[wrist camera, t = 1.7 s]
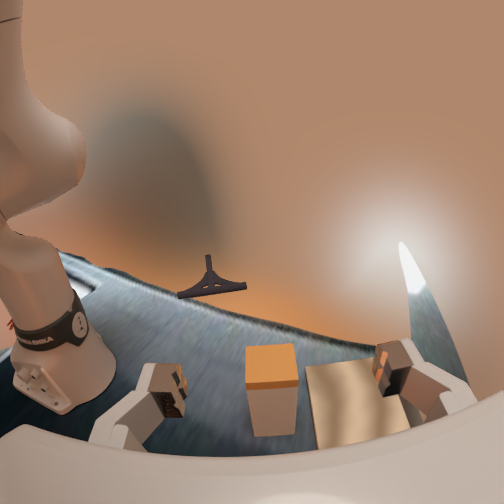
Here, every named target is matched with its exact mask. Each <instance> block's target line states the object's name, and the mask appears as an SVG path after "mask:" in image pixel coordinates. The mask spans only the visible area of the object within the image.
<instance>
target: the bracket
mask: <svg viewBox="0 0 504 504" xmlns="http://www.w3.org/2000/svg"><path fill="white" fill-rule="evenodd" d="M205 257H206V266H207V272H206V273H205V275H204V277H203V278H202V280H201V281H200V282H199V283H197V284H196V285H194V286H193V287H192V288H189V289H187V290H185V291H181V292H177V295H178V299H182V298H189V297H190V298H194V297H201V296H208V295H215V294H221V293H228V292H234V291H241V290H247V285H246V282H242V283H237V282H232V281H228V280H225V279H222V278H220V277H219V276H218V275H217V274H216V273H215V272H214V271H213V270H212V262H211V256H210V255H205ZM215 284H219V285H221V286H215ZM205 286H208V287H207V288H203V287H205Z"/></svg>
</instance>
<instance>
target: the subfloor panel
mask: <svg viewBox="0 0 504 504" xmlns="http://www.w3.org/2000/svg"><path fill="white" fill-rule="evenodd" d="M373 358H374V357H372V358H366V359H360V360H353V361H347V362H339V363H332V364H324V365H315V366H306V367H305V375H306V381H307V387H308V393H309V399H310V406H311V412H312V418H313V425H314V431H315V438H316V445H317V450H321V449H327V448H333V447H338V446H343V445H348V444H353V443H358V442H362V441H367V440H371V439H375V438H379V437H383V436H386V435H390V434H393V433H397V432H400V431H404V430H407V429H410V428H413V427H416V426H419V425H422V424H423V423H424V421H425V419H426V418H427V416H426V415H425V414H423V413H422V412H421V411H420V410H418V409H417V408H416V407H415V406H413V405H412V404H411V403H410V402H408V401H407V400H406V399H405V398H403V397H402V396H401V395H400V394H397V395H393V396H388V397H384V398H382V395H381V393H380V390H379V388H378V385H379V381H378V380H376V379H375V378H374V375H373V371H372V361H373Z"/></svg>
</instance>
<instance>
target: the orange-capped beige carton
mask: <svg viewBox="0 0 504 504" xmlns="http://www.w3.org/2000/svg"><path fill="white" fill-rule="evenodd" d="M298 380H299V379H298V372H297V366H296V359H295V352H294V346H293V343H290V344H278V345H264V346H246V376H245V384H246V390H247V396H248V402H249V408H250V414H251V420H252V426H253V431H254V437H263V436H279V435H291V434H295V424H296V411H297V397H298Z"/></svg>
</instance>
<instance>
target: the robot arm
mask: <svg viewBox="0 0 504 504" xmlns="http://www.w3.org/2000/svg"><path fill="white" fill-rule="evenodd" d="M22 3H23V0H0V298H1V300H2V301H3V303H4V305H5V307H6V309H7V310H8V312H9V314H10V316H11V317H12V319H11V321H10V322H9V323H8V324H7V326H8V325H9V324H11V322H12V324H11V326H10V330H11V329H12V328H13V327H14V329H15V333H16V336H17V339H16V342H15V344H14V346H13V349H12V351H11V357H10V359H11V363H12V365H13V367H14V368H15V370H16V371H15V374H14V379H13V385H14V386H15V388H16V389H17V390H19V391H20V392H22V393H23V394H25V395H27V396H28V397H30V398H31V399H33V400H35V401H36V402H38V403H40V404H42V405H43V406H45V407H47V408H49V409H51V410H52V411H54V412H56V413H58V414H60V415H64V414H66V413H68V412H69V411H71V410H72V409H73V408H74V407H75V406H77V405H79V404H82V403H85V402H87V401H90V400H92V399H93V398H95V397H97V396H98V395H99V394H101V393H102V392H103V391H104V390H105V389H106V388H107V386H108V385H109V384H110V382H111V381H112V379H113V377H114V374H115V370H116V360H115V357H114V355H113V353H112V352H111V351H110V350H109V349H108V348H107V347H106V345H105V344H104V343H103V339H102V338H101V336H100V335H99V334H98V333H96V331H95V330H94V328H93V327H92V325H91V323H90V322H89V320H88V318H87V317H86V314H85V311H84V308H83V306H82V304H81V301H80V298H79V296H78V295H77V293H76V291H75V290H74V289H72V287H71V285H70V282H69V280H68V277H67V275H66V272H65V270H64V267H63V264H62V261H61V259H60V256H59V253H58V251H57V250H56V248H55V247H54V246H53V245H52V244H51V243H50V242H48V241H46V240H44V239H41V238H37V237H31V236H22V235H19V234H17V233H15V232H14V231H13V230H12V229H10V227H9V226H8V224H7V222H6V221H7V220H8V219H10V218H12V217H15V216H17V215H19V214H22V213H24V212H26V211H29V210H31V209H34V208H36V207H39V206H41V205H43V204H46V203H49V202H51V201H52V200H54V199H56V198H58V197H59V196H61V195H62V194H64V193H66V192H67V191H69V190H70V189H72V188H74V187H76V186H77V185H78V183H79V182H80V180H81V178H82V175H83V172H84V169H85V165H86V146H85V142H84V139H83V137H82V134H81V133H80V131H79V130H78V128H77V127H76V126H75V125H74V124H73V123H72V122H71V121H69V120H67V119H65V118H63V117H61V116H58V115H56V114H54V113H52V112H51V111H49V110H48V109H47V108H45V107H44V106H43V105H42V104H41V103H40V102H39V101H38V100H37V99H36V97H35V96H34V94H33V93H32V91H31V89H30V87H29V85H28V83H27V80H26V77H25V73H24V67H23V60H22V48H21V22H22V19H20V18H22ZM375 352H376V356H375V357H374V358H373V361H372V371H373V375H374V378H375V379H376V380H378V381H379V385H378V388H379V390H380V393H381V395H382V398H384V397H388V396H393V395H397V394H400V395H401V396H402V397H403V398H405V399H406V400H407V401H408V402H410V403H411V404H412V405H413V406H415V407H416V408H417V409H418V410H420V411H421V412H422V413H423V414H425V415H426V416H427V418H426V419H425V421H424V423H423V424H422V425H419V426H416V427H413V428H410V429H407V430H404V431H400V432H397V433H393V434H390V435H386V436H383V437H379V438H375V439H371V440H367V441H362V442H358V443H353V444H348V445H343V446H338V447H333V448H327V449H321V450H314V451H307V452H299V453H290V454H280V455H268V456H252V457H194V456H177V455H165V454H155V453H148V452H147V451H146V450H145V449H144V447H143V446H142V443H143V442H144V441H145V440H146V439H147V438H148V437H149V435H150V434H151V433H152V432H153V431H154V430H155V429H156V428H157V426H158V425H159V424H160V423H161V422H162V421H163V419H164V417H173V418H183V416H184V411H185V403H184V401H183V400H184V399H185V398H186V397H187V393H188V385H187V380H186V377H185V376H184V375H182V370H183V369H182V367H181V364H172V363H145V365H144V366H143V369H142V372H141V375H140V378H139V381H138V384H137V387H136V390H135V391H131V392H130V393H129V394H128V395H126V396H125V397H124V398H123V399H121V400H120V401H119V402H118V403H117V404H115V405H114V406H113V407H112V408H110V409H109V410H108V411H107V412H105V413H104V414H103V415H102V416H100V417H99V418H98V419H97V420H96V422H95V424H94V427H93V430H92V432H91V435H90V438H89V441H88V442H85V441H81V440H77V439H73V438H70V437H66V436H62V435H59V434H55V433H52V432H49V431H46V430H42V429H39V428H37V427H34V426H31V425H27V424H24V425H21V426H19V427H17V428H15V429H14V430H12V431H11V432H9V433H7V434H6V435H4V436H3V437H1V438H0V504H504V389H503V390H501V391H500V392H497V393H495V394H494V395H492V396H490V397H488V398H486V399H483V400H481V401H479V402H477V400H476V398H475V396H474V395H473V393H472V391H471V389H470V388H469V386H468V384H467V383H466V382H464V381H462V380H460V379H458V378H456V377H455V376H453V375H451V374H449V373H447V372H445V371H444V370H442V369H440V368H438V367H436V366H434V365H433V364H431V363H429V362H424V360H423V359H422V357H421V355H420V354H419V352H418V350H417V349H416V347H415V345H414V344H413V342H412V340H411V339H410V338H405V339H400V340H396V341H391V342H387V343H382V344H377V346H376V349H375Z"/></svg>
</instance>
